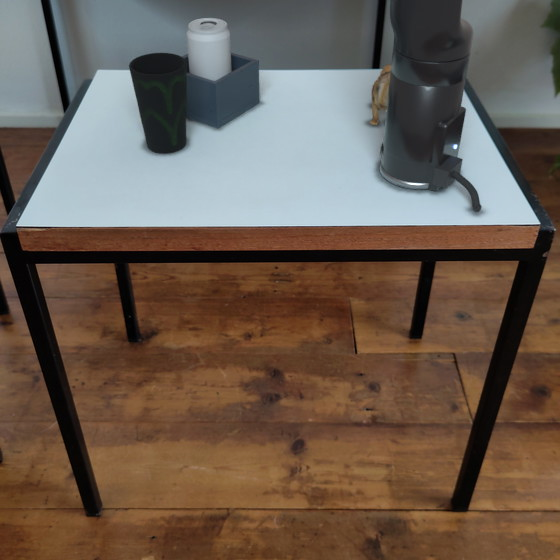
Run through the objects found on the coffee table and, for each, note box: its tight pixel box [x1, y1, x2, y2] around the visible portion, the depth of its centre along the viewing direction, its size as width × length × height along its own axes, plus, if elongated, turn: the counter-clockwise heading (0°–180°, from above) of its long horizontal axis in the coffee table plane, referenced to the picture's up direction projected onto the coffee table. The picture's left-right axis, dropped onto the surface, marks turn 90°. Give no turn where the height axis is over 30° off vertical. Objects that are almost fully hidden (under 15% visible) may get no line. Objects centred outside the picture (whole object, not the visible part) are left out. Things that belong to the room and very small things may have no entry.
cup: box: [128, 52, 187, 155], centre depth 100 cm, size 8×8×12 cm
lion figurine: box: [369, 63, 392, 126], centre depth 109 cm, size 15×5×9 cm, turn 176°
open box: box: [181, 52, 261, 129], centre depth 111 cm, size 11×11×7 cm
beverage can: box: [185, 17, 232, 81], centre depth 109 cm, size 6×6×12 cm
